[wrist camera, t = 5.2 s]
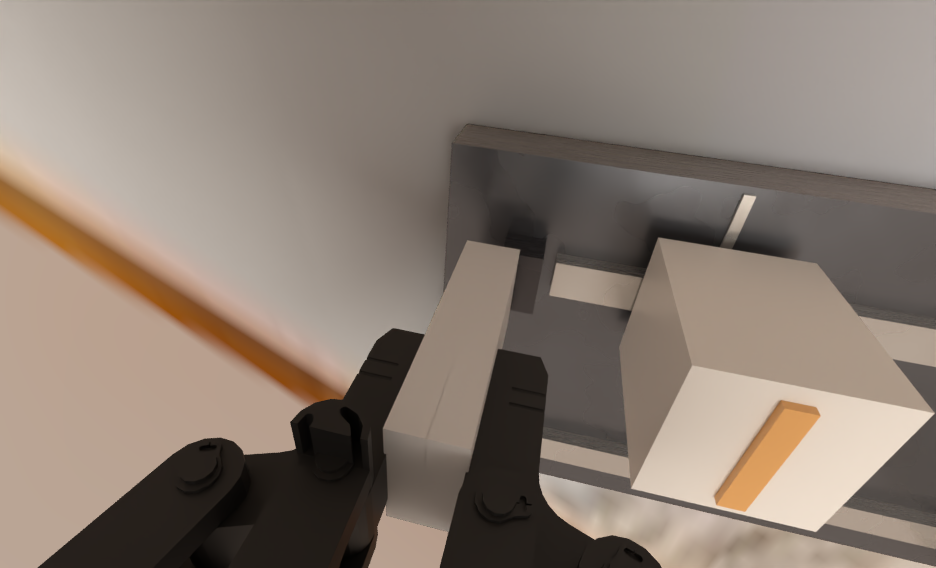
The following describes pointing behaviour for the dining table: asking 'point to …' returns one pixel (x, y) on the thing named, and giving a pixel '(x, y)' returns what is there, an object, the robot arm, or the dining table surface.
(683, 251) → the fader
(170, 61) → the dining table surface
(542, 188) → the console
